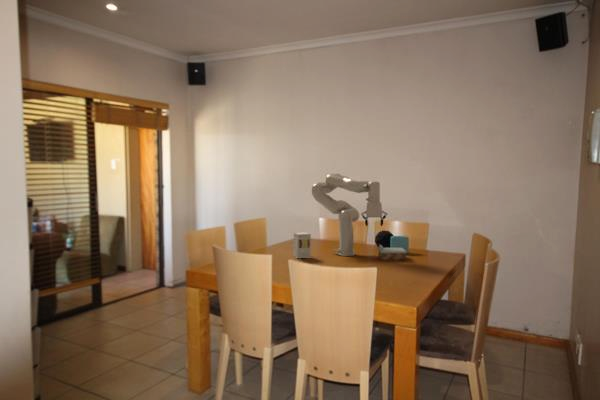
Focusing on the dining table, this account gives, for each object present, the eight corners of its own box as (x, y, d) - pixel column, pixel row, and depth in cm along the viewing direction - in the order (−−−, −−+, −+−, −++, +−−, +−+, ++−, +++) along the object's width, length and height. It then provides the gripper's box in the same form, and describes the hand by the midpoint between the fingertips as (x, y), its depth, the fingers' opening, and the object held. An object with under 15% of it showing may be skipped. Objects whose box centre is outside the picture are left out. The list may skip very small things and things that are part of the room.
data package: (406, 252, 301) (406, 235, 301) (408, 253, 297) (408, 236, 296) (390, 252, 301) (390, 235, 300) (391, 253, 296) (392, 237, 295)
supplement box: (297, 259, 280) (297, 234, 278) (293, 256, 288) (293, 232, 287) (311, 258, 283) (310, 233, 281) (306, 255, 291) (306, 231, 290)
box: (381, 260, 275) (381, 252, 275) (378, 256, 286) (378, 249, 286) (405, 260, 275) (405, 252, 274) (402, 256, 286) (402, 249, 285)
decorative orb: (368, 241, 318) (375, 226, 309) (384, 239, 324) (392, 225, 315) (377, 255, 308) (384, 240, 299) (393, 253, 314) (401, 239, 305)
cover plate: (381, 254, 274) (381, 247, 274) (378, 250, 287) (378, 244, 286) (406, 254, 274) (406, 247, 273) (401, 250, 286) (401, 244, 286)
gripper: (361, 200, 276) (361, 226, 277) (388, 200, 275) (388, 226, 276) (360, 199, 283) (360, 225, 284) (386, 199, 283) (386, 224, 284)
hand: (374, 225), depth 280 cm, fingers open, 9 cm apart
